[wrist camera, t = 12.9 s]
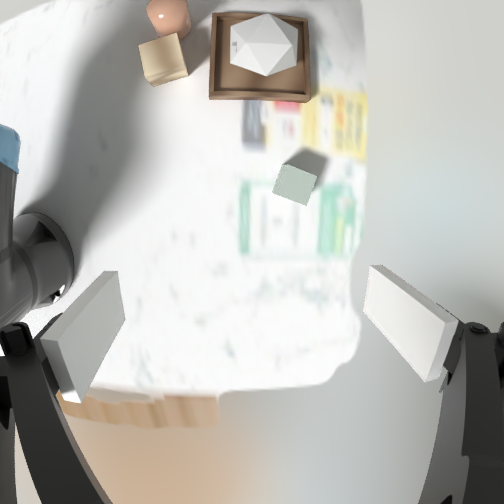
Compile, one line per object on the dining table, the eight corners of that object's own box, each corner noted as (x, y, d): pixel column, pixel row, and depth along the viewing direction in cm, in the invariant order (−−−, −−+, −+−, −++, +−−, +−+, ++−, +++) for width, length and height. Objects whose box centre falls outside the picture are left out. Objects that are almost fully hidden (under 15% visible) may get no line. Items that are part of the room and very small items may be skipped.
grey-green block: (271, 192, 40) (277, 194, 36) (282, 164, 39) (288, 164, 35) (298, 202, 41) (306, 205, 37) (308, 175, 40) (317, 176, 36)
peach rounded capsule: (155, 43, 32) (144, 23, 26) (158, 16, 31) (148, -6, 24) (190, 40, 33) (184, 19, 26) (192, 13, 31) (188, -11, 25)
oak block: (153, 86, 34) (144, 77, 30) (147, 57, 33) (138, 45, 28) (188, 76, 34) (184, 64, 30) (181, 46, 33) (176, 32, 28)
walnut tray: (209, 99, 36) (208, 95, 33) (212, 20, 32) (212, 12, 30) (305, 103, 37) (310, 99, 35) (303, 25, 33) (307, 18, 31)
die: (250, 21, 32) (212, 13, 25) (310, 22, 29) (284, 8, 22) (249, 72, 37) (212, 76, 30) (307, 77, 34) (282, 78, 27)
